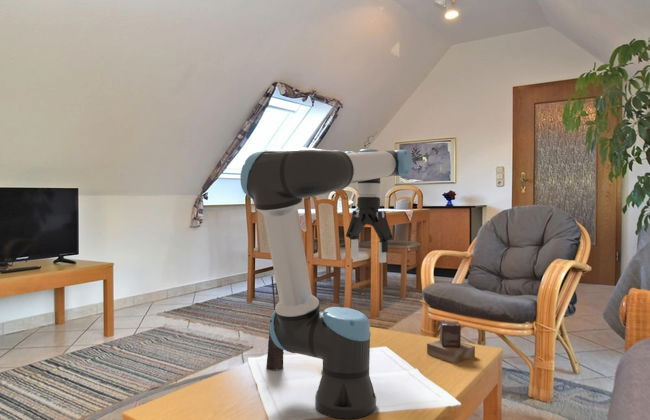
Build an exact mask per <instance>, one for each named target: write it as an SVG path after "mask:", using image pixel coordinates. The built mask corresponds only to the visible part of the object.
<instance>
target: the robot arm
mask: <svg viewBox="0 0 650 420" xmlns="http://www.w3.org/2000/svg"><path fill="white" fill-rule="evenodd" d="M412 157H413V156H412V154H411V152H410V151H409V150H407V149H394V150H381V151H380V150H378V149H373V148H371V149H369V148H364V149H359V151H358V152H355V151H343V150H341V149H340V150H339V149H333V150H332V149H321V148H311V147H298V148H297V147H296V148H284V149H282V148H281V149H280V148H279V149H268V150H267V149H266V150H260V151H256V152H254V153H252V154H251V155H249V156H248V157H247V158H246V159H245V161H244V164H243V165H242V167H241V171H240V179H239V180H240V186H241V189H242V191H243V194H245V195H246V197H248V198H250V199H252V200H254V205H255V206H254V207H255V209H256V211H257V212H259V213H261V214H262V215H263V221H264V224H265V225H264V226H265V231H266V236H267V241H268V246H269V251H270V257H271V262H272V263H271V264H272V266H273V272H274V273H273V274H274V278H275V283H276V289H277V294H278V302H277V304H275V305H276V307H275V311H274V310H273V312H272V314H271V317H270V320H272V322H271V323H270V322H269V327H268V328H269V329H270V335H271V338H272V340H273V342H274V344H275V345H276V346H277V347H279V348H280V349H283V351H286V352H289V353H291V354H298V355H303V356H308V357H312V358H317V359H321V360H322V375H321V378H320V381H319V384H318V388H317V390H316V393H315V398H314V399H315V401H314V402H315V403H314V404H315V408H316V409H317V410H318V411H319V412H320V413H321V414H324V415H326V416H329V417H331V418H337V419H351V420H352V419H358V418H363V417H366V416H369V415H371V414H373V413H374V412H375V411H376V408H377V397H376V393H375V390H374V386H373V383H372V379H371V376H370V361H371V360H370V356H371V355H370V353H371V352H370V351H371V328H370V326H371V325H370V320H369V318H368V317H367V315H366V314H365V313H364V312H361V311H359V310H356V309H354V308H351V307H340V306H331V307H328V308H327V307H326V308H325V309H324V310H321V306H320V300H319V298H317V297H316V296H315V295H313V294H312V292H313V291H312V288H311V281H310V275H309V270H308V269H309V268H308V262H307V257H306V252H305V245H304V239H303V233H302V227H301V222H300V215H299V207H300V206H301V205H302V203H303V199H308V198H312V197H317V196H321V195H324V194H329V193H331V192H332V193H333V192H336V191H340V190H344V189H345V188H347V187H349V186H350V185H351V184H355V183H357V191H356V193H357V196H359V197H357V200H356V201H357V208H358V209H359V210H353V211H352V215H351V220H350V222H349V224H348V227H347V231H346V234H345V237H347V238H349V241H350V259H352V260H353V259H359V243H360V242H359V238H358V237H359V235H360V234H361V232H362V230H363V229H364V227H365V226H366V225H370V226H371V227H372V228H373V230H374V231H375V233H376V235H377V236H378V239H379V242H378V263H379V264H382V263H384V264H385V263H387V253H388V252H389V249H388V247H389V246H388V245H389V244H388V243H389V242H391V241H393V239H394V237H393V234H392V231H391V228H390V225H389V223H388V219H387V213H386V211H385V210H384V211H382V210H381V211H380V210H379V209H381V198H380V197H379V196H381V178H389V177H392V176H393V177H397V176H398V177H401V176H407V175H410V173H411V172H412V169H413V158H412ZM269 329H268V330H269Z"/></svg>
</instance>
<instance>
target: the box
mask: <svg viewBox="0 0 650 420" xmlns="http://www.w3.org/2000/svg"><path fill="white" fill-rule="evenodd" d="M439 326H440V327H439V330H440V332H439V341H440V342H441V344H442V346H445V347H460V344H461V342H462V340H461V337H462V336H461V335H462V334H461V331H462V325H461V324H460V323H459V321H457V320H456V321H454V320H440V323H439Z"/></svg>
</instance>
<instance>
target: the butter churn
mask: <svg viewBox="0 0 650 420" xmlns="http://www.w3.org/2000/svg"><path fill="white" fill-rule="evenodd" d="M270 279H271V286H272V287H271V288H272V298H273V301H272V302H273V312H274V311H275V307H276V305H277V304H276V299H275V297H276V296H275V287H274V286H275V285H274V277H273V275H271V278H270ZM269 321H270V322H269V324H270V323H271V322H272V320H271V319H270V320H269ZM268 330H269V331H268V332H269V333H268V340H267V341H268V344H267V357H266V366H265V367H266V369H267V370H269V371H280V370H282V369H284V353H285V352H284V350H283V349H280V348H279V347H277V346H276V345H275V344H274V342H273V340H272V338H271V335H270V329H268Z"/></svg>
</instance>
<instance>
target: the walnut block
mask: <svg viewBox="0 0 650 420" xmlns="http://www.w3.org/2000/svg"><path fill="white" fill-rule="evenodd" d="M426 353H427V355H430V356H432V357H435V358H438V359H441V360H443V361H447V362H449V363H452V364H455V363H459V362H462V361H465V360H468V359H469V360H470V359H473V358H475V357H476V346H474V345H472V344H468V343H465V342H462V341H461V344H460V347H445V346H442V344H441V342H440V340H437V341H433V342H428V343H427V344H426Z"/></svg>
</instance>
